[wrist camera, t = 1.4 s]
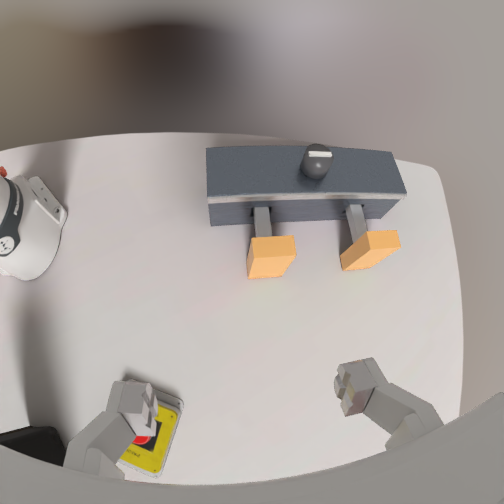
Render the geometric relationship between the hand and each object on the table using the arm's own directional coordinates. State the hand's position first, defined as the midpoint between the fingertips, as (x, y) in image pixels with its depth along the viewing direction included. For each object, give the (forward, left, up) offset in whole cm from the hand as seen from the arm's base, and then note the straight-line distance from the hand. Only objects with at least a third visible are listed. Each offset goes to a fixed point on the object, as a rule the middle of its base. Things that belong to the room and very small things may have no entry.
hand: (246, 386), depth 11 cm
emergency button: (+1, -18, -31) cm, 36 cm away
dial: (-12, +25, -20) cm, 34 cm away
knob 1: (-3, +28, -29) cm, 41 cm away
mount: (-12, +25, -30) cm, 41 cm away
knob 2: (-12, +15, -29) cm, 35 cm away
